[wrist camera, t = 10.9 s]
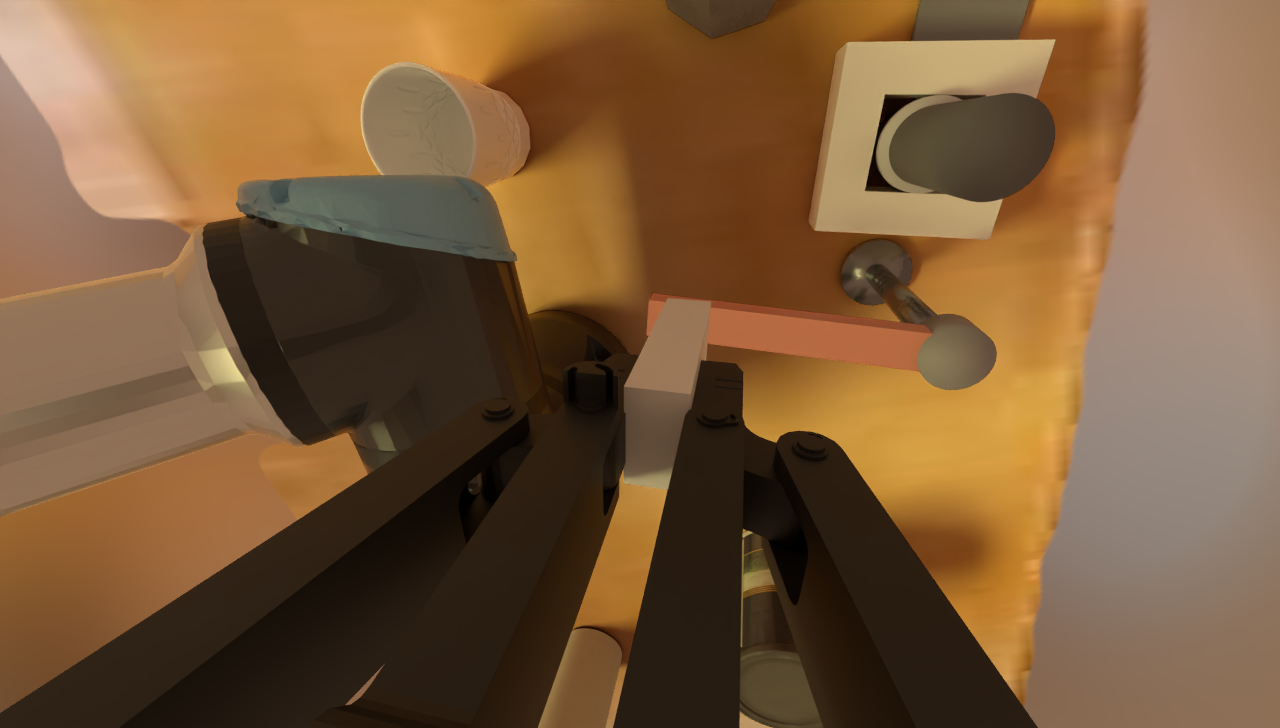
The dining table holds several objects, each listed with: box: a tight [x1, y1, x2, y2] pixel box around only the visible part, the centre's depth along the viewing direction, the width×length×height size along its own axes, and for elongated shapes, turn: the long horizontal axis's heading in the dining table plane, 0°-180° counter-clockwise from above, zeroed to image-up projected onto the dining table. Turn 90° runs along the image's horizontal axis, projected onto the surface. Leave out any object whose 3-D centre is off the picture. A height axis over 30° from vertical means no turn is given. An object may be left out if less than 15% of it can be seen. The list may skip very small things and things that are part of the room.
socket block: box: [808, 39, 1056, 240], centre depth 32 cm, size 11×11×4 cm
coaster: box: [911, 0, 1029, 41], centre depth 29 cm, size 6×6×1 cm
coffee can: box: [740, 531, 823, 728], centre depth 46 cm, size 10×10×14 cm
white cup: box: [361, 62, 531, 187], centre depth 34 cm, size 8×8×10 cm
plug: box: [871, 93, 1055, 202], centre depth 27 cm, size 5×5×14 cm
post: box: [840, 239, 937, 324], centre depth 31 cm, size 5×5×14 cm
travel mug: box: [538, 628, 622, 728], centre depth 57 cm, size 8×8×18 cm
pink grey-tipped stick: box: [646, 293, 997, 390], centre depth 24 cm, size 17×3×2 cm, turn 87°
